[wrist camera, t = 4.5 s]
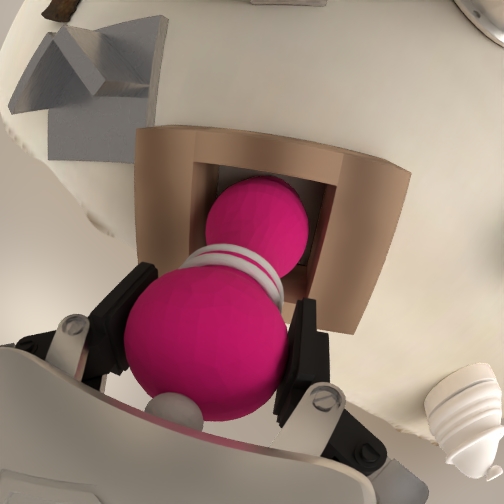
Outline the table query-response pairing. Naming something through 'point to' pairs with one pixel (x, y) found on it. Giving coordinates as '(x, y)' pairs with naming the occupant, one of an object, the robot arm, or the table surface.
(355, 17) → the table surface
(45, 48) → the v block
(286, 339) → the pepper mill
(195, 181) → the wooden rectangular frame
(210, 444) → the robot arm
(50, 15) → the hand tool
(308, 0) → the coffee box
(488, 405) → the honey pot
